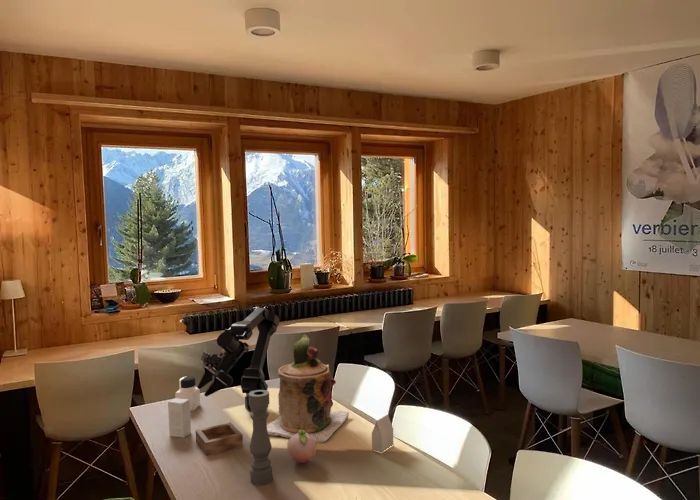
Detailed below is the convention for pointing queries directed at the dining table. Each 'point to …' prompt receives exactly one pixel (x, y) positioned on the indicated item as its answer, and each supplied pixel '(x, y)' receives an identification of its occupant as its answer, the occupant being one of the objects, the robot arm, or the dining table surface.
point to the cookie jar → (306, 397)
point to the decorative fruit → (301, 446)
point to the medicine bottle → (189, 391)
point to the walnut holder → (219, 438)
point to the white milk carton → (382, 434)
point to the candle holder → (260, 438)
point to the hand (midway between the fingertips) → (201, 392)
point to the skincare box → (179, 417)
